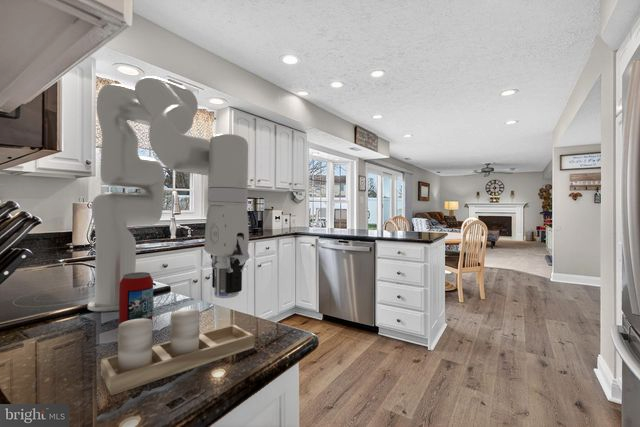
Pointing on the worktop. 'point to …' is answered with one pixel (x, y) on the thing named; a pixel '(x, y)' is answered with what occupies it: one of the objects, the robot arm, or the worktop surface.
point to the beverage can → (136, 297)
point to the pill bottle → (222, 278)
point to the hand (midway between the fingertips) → (226, 288)
